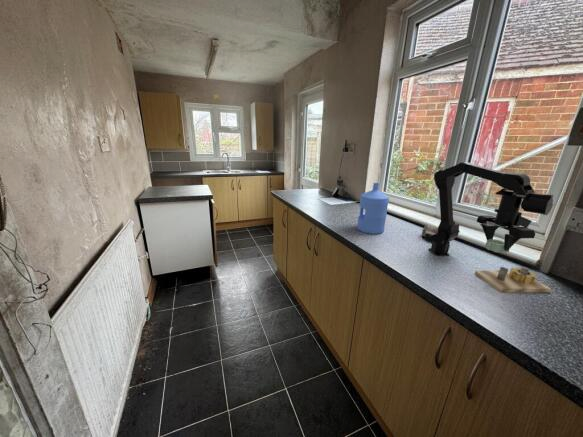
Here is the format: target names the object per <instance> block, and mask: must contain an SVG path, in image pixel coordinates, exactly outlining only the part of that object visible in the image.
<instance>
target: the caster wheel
mask: <svg viewBox="0 0 583 437" xmlns="http://www.w3.org/2000/svg"><path fill="white" fill-rule="evenodd" d="M437 232H438V227H435V226H432V225H429V224H427V223H425V225H424V227H423V228H422V231H421V239H422V237H424V238H425V239H426V240H427V241H428V242H431V243H432V242H433V241H432V240H431V236H432V235H434V234H437Z"/></svg>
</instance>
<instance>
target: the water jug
mask: <svg viewBox="0 0 583 437" xmlns="http://www.w3.org/2000/svg"><path fill="white" fill-rule="evenodd" d="M379 185H380V183H378V182H373V185H372V189H371V190H369V191H365V192H363V193H360V198H359V207H360V209H359V215H358V218H357V224H356V229H357V230H358V231H360V232H362V233H364V234H370V235H378V234H382V233H383V232H384V231H385V228H386V227H385V225H386V220H387V219H386V218H387V212H388V206H389V203H390V202H389V201H390V200H389V198H390V197H389V196H388V195H387V194H385V193H384V192H381V191H380V190H379V188H380V187H379ZM364 210H365V211H364Z"/></svg>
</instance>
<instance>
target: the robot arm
mask: <svg viewBox="0 0 583 437" xmlns="http://www.w3.org/2000/svg"><path fill="white" fill-rule="evenodd" d="M463 174H467V175H471V176H474V177H478V178H480V179H483V180H487V181H490V182H493V183H495V184H496V185H497V186H499V187H501V189H499V190H498V191H496V192H495V195H498V196H500V197H501V198H500V201H499V206H498V208H495V209H494V212H493V213H496V215H495V216H493V215H479V216H478V217H477V219H476V223H479V224H480V226H481V228H482V230H483V232H484V235H485V238H486V241H487V240H489V239H494V236H495V233H496V230H498V229H499V228H501V229H504V230H506V231H508V233H505V234H504V240H503V241H504V250H505V251H508V250H509V251H510V249H511V248H512V247H513V246H514V245H515V243H517V242H518V241H519V240H521V239H534V238H535V236H536V231H535V230H534V229H531V228H529V226H530V224H532V221H533V220H531V219H528V218H526V217H523V216H522V211H520V208H521V210H523V211H524V212H527V213H533V214H538V215H543V216H547V215H549V214H550V213H551V210H552V209H553V206H554V204H553V203H554V194H548V193H547V194H544V193H536V191H535V190H534V189H533V187H532V185H531V179H530V176H529V175H527V174H525V173H518V172H507V171H499V170H495V169H492V168H488V167H484V166H481V165H478V164H473V163H471V162H468V161H465V162H464V161H463V162H459V163H458V164H455V165H452V166H449V167H447V168H445V169H440V170H437V171H436V172H435V173H434V175H433V180H434V184H435V187H437V189H438V193H439V194H438V196H439V210H440V212H439V213H440V223H439V224H438V226H437V229H438V232H437V234H434V235H432V236H431V240H432V241H433V242H431V246H430V248H428V251H430V252H432V254H434V255H436V256H450V253H449V250H450V247H451V246H450V243H451V241H453V239H456V238H457V237H458V236H459V233H461V231H460V224H459V223H456V222H455V220H454V211H453V209H454V208H453V191H452V189H453V187H454V184H455V183H456V182H455V181H456V178H457V177H460V176H461V175H463Z"/></svg>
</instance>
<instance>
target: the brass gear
mask: <svg viewBox="0 0 583 437" xmlns="http://www.w3.org/2000/svg"><path fill="white" fill-rule="evenodd" d="M510 268H511V269H510V270H509V271H510V274H509V277H510V278H513V279H514V280H515V281H517V282H521V283H524V284H534V283H535V281H537V278H538V275H537V274H536V273H534V272H532V271H531V270H529V272H528V274H527V275H526V274H522V273H520V269H521V267H510Z"/></svg>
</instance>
